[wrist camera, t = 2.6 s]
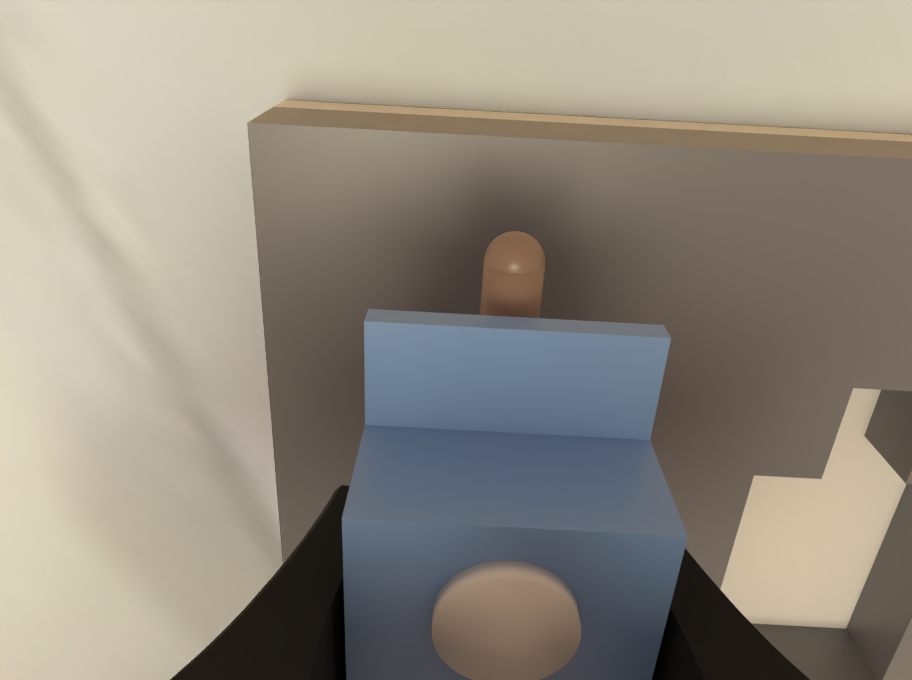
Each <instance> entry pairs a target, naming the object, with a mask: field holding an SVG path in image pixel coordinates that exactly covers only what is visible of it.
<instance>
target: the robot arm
mask: <svg viewBox="0 0 912 680" xmlns="http://www.w3.org/2000/svg"><path fill="white" fill-rule="evenodd" d="M349 487H350V486H347V485H341V486H340V487H339V488H337V489H336V490H335V491H334V493H333V495H332V496H331V498H330V500H329V501H328V503H327V504H326V506H325V508H324V509H323V511H322V512H321V514H320V515H319V517H318V518H317V520H316V521H315V522H314V524H313V525H312V527H311V528H310V529H309V531H308V532H307V534H306V535H305V536H304V538H303V539H302V540H301V542H300V543H299V544H298V546H297V547H296V548H295V549H294V551H293V552H292V553H291V555H290V556H289V557H288V558H287V560H286V561H285V562H284V564H283V565H282V566H281V567H280V569H279V570H278V571H277V572H276V573H275V575H274V576H273V577H272V578H271V579H270V580H269V582H268V583H267V584H266V585H265V586H264V587H263V588H262V590H261V591H260V592H259V593H258V594H257V595H256V596H255V598H254V599H253V600H252V601H251V602H250V603H249V604H248V605H247V607H246V608H245V609H244V610H243V611H242V612H241V613H240V614H239V615H238V616H237V617H236V618H235V619H234V620H233V621H232V622H231V624H230V625H229V626H228V627H227V628H226V629H225V630H224V631H223V632H222V633H221V634H220V635H219V636H217V637H216V638H215V639H214V640H213V641H212V642H211V643H210V644H209V645H208V646H207V647H206V648H205V649H204V650H203V651H202V652H201V653H200V654H199V655H198V656H197V657H195V658H194V659H193V660H192V661H191V662H190V663H189V664H187V665H186V666H185V667H184V668H183V669H182V670H181V671H180V672H178V673H177V674H176V675H175V676H174V677H173V678H172V679H170V680H346V653H345V617H344V582H343V546H342V515H343V511H344V507H345V503H346V499H347V495H348V491H349ZM652 680H810V679H809V678H808V677H807V676H805V675H804V674H803V673H802V672H801V671H800V670H799V669H798V668H797V667H795V666H794V665H793V664H792V663H791V662H790V661H789V660H788V659H787V658H786V657H784V656H783V655H782V654H781V653H780V652H779V651H778V650H777V649H776V648H775V647H774V646H773V645H772V644H771V643H770V642H769V641H768V640H767V639H766V638H765V637H764V636H763V635H762V634H761V633H760V632H759V631H758V630H757V629H756V628H755V627H754V626H753V625H752V624H751V623H750V622H749V620H748V619H747V618H746V617H745V616H744V615H743V614H742V613H741V612H740V611H739V610H738V609H737V608H736V607H735V605H734V604H733V603H732V602H731V601H730V600H729V599H728V598H727V597H726V595H725V594H724V593H723V592H722V591H721V590H720V588H719V587H718V586H717V585H716V584H715V583H714V582H713V580H712V579H711V578H710V577H709V576H708V575H707V574H706V572H705V571H704V570H703V569H702V568H701V566H700V565H699V564H698V563H697V562H696V560H695V559H694V558H693V557H692V556H691V554H690V553H689V552H688V551H687V549H686V548H685V550H684V554H683V558H682V562H681V566H680V570H679V574H678V578H677V582H676V586H675V590H674V594H673V598H672V602H671V605H670V609H669V613H668V617H667V621H666V625H665V629H664V633H663V637H662V641H661V645H660V649H659V653H658V657H657V661H656V665H655V669H654V673H653V677H652Z"/></svg>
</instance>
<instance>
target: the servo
mask: <svg viewBox="0 0 912 680" xmlns="http://www.w3.org/2000/svg"><path fill="white" fill-rule="evenodd" d="M544 274H545V254H544V251H543V249H542V247H541V245H540V244H539V242H538V241H537V240H536V239H535V238H534V237H532V236H531V235H529V234H527V233H524V232H519V231H510V232H506V233H503V234H501V235H499V236H498V237H496V238H495V239H494V240H493V241H492V242H491V243H490V245H489V246H488V248H487V250H486V252H485V257H484V265H483V279H482V293H481V307H480V315H471V314H453V313H434V312H416V311H398V310H380V309H368V311H367V314H366V317H365V320H364V365H365V427H364V431H363V435H362V439H361V443H360V447H359V451H358V455H357V459H356V463H355V467H354V471H353V475H352V479H351V483H350V487H349V491H348V495H347V499H346V503H345V507H344V511H343V515H342V546H343V582H344V617H345V653H346V680H652V677H653V673H654V669H655V665H656V661H657V657H658V653H659V649H660V645H661V641H662V637H663V633H664V629H665V625H666V621H667V617H668V613H669V609H670V605H671V602H672V598H673V594H674V590H675V586H676V582H677V578H678V574H679V570H680V566H681V562H682V558H683V554H684V550H685V546H686V542H687V538H688V536H687V533H686V531H685V528H684V525H683V523H682V520H681V518H680V515H679V513H678V510H677V508H676V505H675V503H674V500H673V497H672V495H671V492H670V490H669V487H668V485H667V482H666V480H665V477H664V475H663V472H662V469H661V467H660V464H659V462H658V459H657V457H656V454H655V452H654V449H653V447H652V444H651V441H650V438H651V433H652V429H653V424H654V419H655V414H656V409H657V404H658V399H659V395H660V390H661V385H662V380H663V375H664V370H665V366H666V361H667V356H668V351H669V346H670V341H671V337H670V335H669V333H668V332H667V330H666V328H665V326H664V325H654V324H636V323H617V322H599V321H581V320H562V319H544V318H540V309H541V301H542V292H543V283H544Z"/></svg>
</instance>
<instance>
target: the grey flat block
mask: <svg viewBox="0 0 912 680" xmlns="http://www.w3.org/2000/svg"><path fill="white" fill-rule="evenodd" d="M247 124H248V137H249V149H250V162H251V174H252V186H253V199H254V211H255V224H256V236H257V248H258V261H259V273H260V286H261V298H262V310H263V323H264V335H265V348H266V360H267V372H268V385H269V397H270V410H271V422H272V434H273V447H274V459H275V472H276V484H277V496H278V509H279V521H280V533H281V546H282V558H283V564H284V562H285V561H286V560H287V558H288V557H289V556H290V555H291V553H292V552H293V551H294V549H295V548H296V547H297V546H298V544H299V543H300V542H301V540H302V539H303V538H304V536H305V535H306V534H307V532H308V531H309V529H310V528H311V527H312V525H313V524H314V522H315V521H316V520H317V518H318V517H319V515H320V514H321V512H322V511H323V509H324V508H325V506H326V504H327V503H328V501H329V500H330V498H331V496H332V495H333V493H334V491H335V490H336V489H337V488H339V487H340V486H341V485H347V486H350V483H351V479H352V475H353V471H354V467H355V463H356V459H357V455H358V451H359V447H360V443H361V439H362V435H363V431H364V427H365V365H364V320H365V317H366V314H367V311H368V309H380V310H398V311H416V312H434V313H453V314H471V315H480V307H481V293H482V279H483V265H484V257H485V252H486V250H487V248H488V246H489V245H490V243H491V242H492V241H493V240H494V239H495V238H496V237H498V236H499V235H501V234H503V233H506V232H510V231H519V232H524V233H527V234H529V235H531V236H532V237H534V238H535V239H536V240H537V241H538V242H539V244H540V245H541V247H542V249H543V251H544V254H545V274H544V283H543V292H542V301H541V309H540V318H544V319H562V320H581V321H599V322H617V323H636V324H654V325H664V326H665V328H666V330H667V332H668V333H669V335H670V337H671V341H670V346H669V351H668V356H667V361H666V366H665V370H664V375H663V380H662V385H661V390H660V395H659V399H658V404H657V409H656V414H655V419H654V424H653V429H652V433H651V438H650V441H651V444H652V447H653V449H654V452H655V454H656V457H657V459H658V462H659V464H660V467H661V469H662V472H663V475H664V477H665V480H666V482H667V485H668V487H669V490H670V492H671V495H672V497H673V500H674V503H675V505H676V508H677V510H678V513H679V515H680V518H681V520H682V523H683V525H684V528H685V531H686V533H687V536H688V538H687V542H686V546H685V548H686V549H687V551H688V552H689V553H690V554H691V556H692V557H693V558H694V559H695V560H696V562H697V563H698V564H699V565H700V566H701V568H702V569H703V570H704V571H705V572H706V574H707V575H708V576H709V577H710V578H711V579H712V580H713V582H714V583H715V584H716V585H717V586H718V587H719V588H720V590H721V591H722V592H723V593H724V594H725V595H726V597H727V598H728V599H729V600H730V601H731V602H732V603H733V604H734V605H735V607H736V608H737V609H738V610H739V611H740V612H741V613H742V614H743V615H744V616H745V617H746V618H747V619H748V620H749V622H750V623H751V624H752V625H753V626H754V627H755V628H756V629H757V630H758V631H759V632H760V633H761V634H762V635H763V636H764V637H765V638H766V639H767V640H768V641H769V642H770V643H771V644H772V645H773V646H774V647H775V648H776V649H777V650H778V651H779V652H780V653H781V654H782V655H783V656H784V657H786V658H787V659H788V660H789V661H790V662H791V663H792V664H793V665H794V666H795V667H797V668H798V669H799V670H800V671H801V672H802V673H803V674H804V675H805V676H807V677H808V678H809V679H810V680H912V135H911V134H893V133H875V132H856V131H838V130H820V129H802V128H784V127H766V126H747V125H729V124H711V123H693V122H675V121H657V120H638V119H620V118H602V117H584V116H566V115H548V114H529V113H511V112H493V111H475V110H457V109H439V108H420V107H402V106H384V105H366V104H348V103H329V102H311V101H293V100H285V101H283V102H281V103H280V104H278V105H276V106H275V107H273V108H271V109H270V110H268V111H266V112H265V113H263V114H261V115H260V116H258V117H256V118H255V119H253V120H251V121H250V122H248V123H247Z"/></svg>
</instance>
